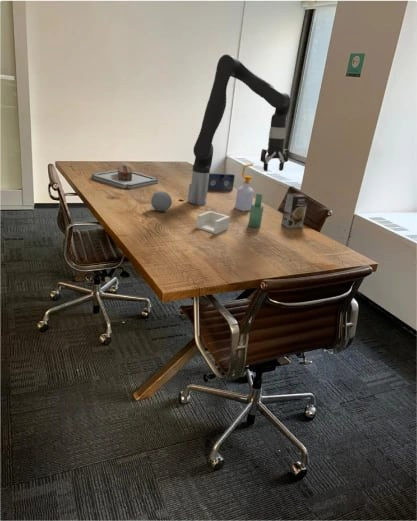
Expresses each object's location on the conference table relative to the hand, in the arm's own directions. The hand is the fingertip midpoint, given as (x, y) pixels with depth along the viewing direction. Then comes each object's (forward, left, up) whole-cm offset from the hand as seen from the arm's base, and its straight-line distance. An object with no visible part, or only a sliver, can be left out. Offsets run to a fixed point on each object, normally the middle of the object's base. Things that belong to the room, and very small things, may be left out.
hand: (273, 170), depth 220 cm
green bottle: (+1, -14, -25) cm, 29 cm away
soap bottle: (-17, +8, -26) cm, 32 cm away
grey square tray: (-92, -3, -26) cm, 96 cm away
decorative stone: (-42, -33, -26) cm, 59 cm away
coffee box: (+14, +3, -26) cm, 29 cm away
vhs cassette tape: (-46, +31, -26) cm, 61 cm away
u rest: (-11, -34, -25) cm, 44 cm away
